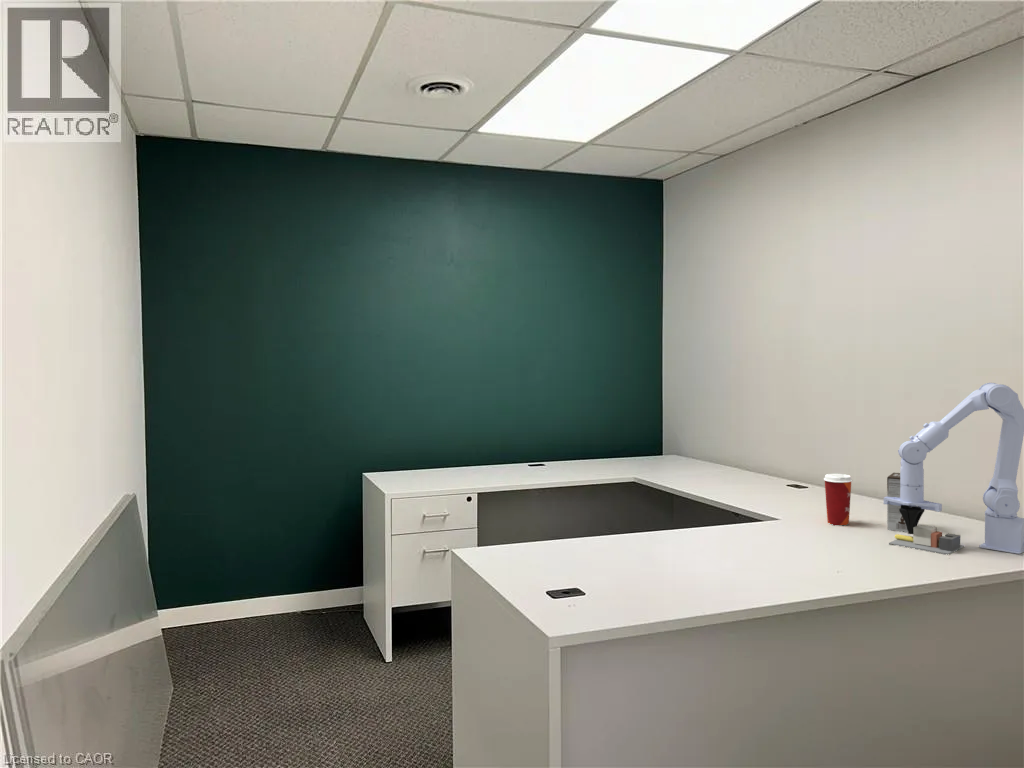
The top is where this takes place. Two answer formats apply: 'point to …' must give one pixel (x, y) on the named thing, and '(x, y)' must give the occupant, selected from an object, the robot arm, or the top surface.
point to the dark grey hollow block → (949, 542)
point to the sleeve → (923, 534)
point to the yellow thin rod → (905, 538)
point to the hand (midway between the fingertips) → (911, 533)
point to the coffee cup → (838, 498)
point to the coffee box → (893, 513)
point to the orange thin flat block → (935, 538)
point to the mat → (921, 546)
